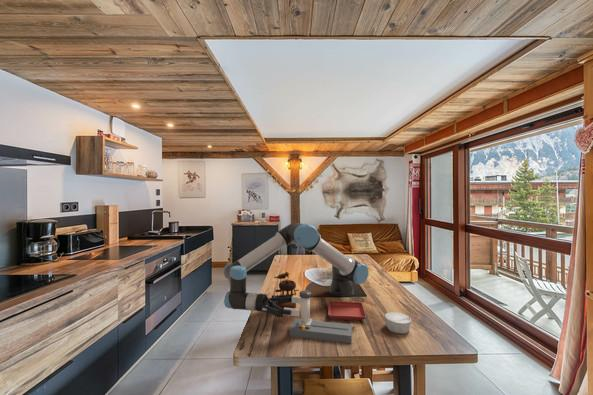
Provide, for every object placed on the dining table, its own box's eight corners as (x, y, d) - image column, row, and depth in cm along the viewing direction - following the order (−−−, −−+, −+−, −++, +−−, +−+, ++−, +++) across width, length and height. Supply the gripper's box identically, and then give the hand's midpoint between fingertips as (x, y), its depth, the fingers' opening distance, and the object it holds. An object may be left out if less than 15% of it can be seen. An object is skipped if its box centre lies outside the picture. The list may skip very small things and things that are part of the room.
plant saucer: (328, 321, 124) (328, 314, 124) (328, 306, 142) (328, 300, 142) (366, 323, 121) (366, 316, 121) (362, 308, 139) (362, 302, 139)
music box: (279, 314, 130) (277, 274, 132) (271, 308, 140) (269, 271, 142) (305, 309, 137) (303, 271, 139) (295, 303, 147) (294, 268, 149)
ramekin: (409, 337, 108) (409, 325, 108) (382, 330, 114) (382, 319, 114) (413, 327, 118) (412, 315, 118) (387, 321, 123) (387, 310, 124)
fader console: (289, 336, 109) (289, 325, 110) (295, 325, 119) (294, 315, 119) (351, 343, 104) (351, 332, 104) (351, 331, 113) (351, 321, 113)
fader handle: (298, 326, 111) (298, 294, 111) (301, 320, 117) (301, 289, 117) (309, 327, 110) (309, 295, 110) (312, 321, 115) (312, 290, 116)
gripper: (266, 300, 130) (307, 304, 125) (246, 322, 106) (296, 328, 101) (266, 285, 130) (307, 288, 125) (246, 304, 106) (296, 309, 101)
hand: (302, 306), depth 113 cm, fingers open, 13 cm apart
